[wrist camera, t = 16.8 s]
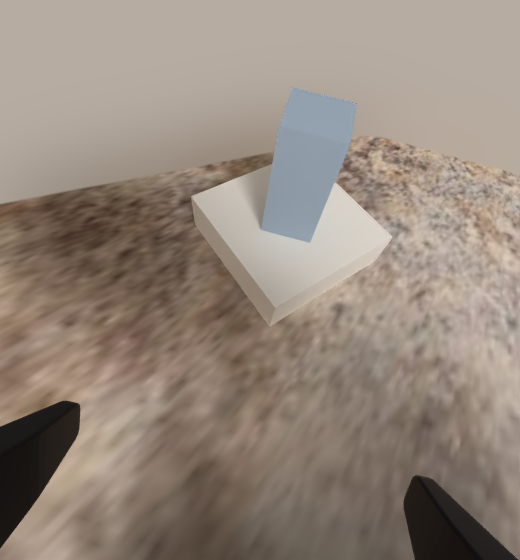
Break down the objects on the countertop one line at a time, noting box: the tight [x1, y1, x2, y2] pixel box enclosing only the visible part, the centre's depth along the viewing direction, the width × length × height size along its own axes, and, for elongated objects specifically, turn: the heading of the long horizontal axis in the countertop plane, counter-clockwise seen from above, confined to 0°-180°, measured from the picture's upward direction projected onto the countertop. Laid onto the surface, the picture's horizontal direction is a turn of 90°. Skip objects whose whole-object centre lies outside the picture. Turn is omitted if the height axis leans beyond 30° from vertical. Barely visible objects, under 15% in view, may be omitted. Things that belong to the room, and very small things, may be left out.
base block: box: [191, 164, 392, 327], centre depth 28 cm, size 12×12×4 cm
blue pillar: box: [261, 88, 356, 243], centre depth 22 cm, size 4×4×9 cm
